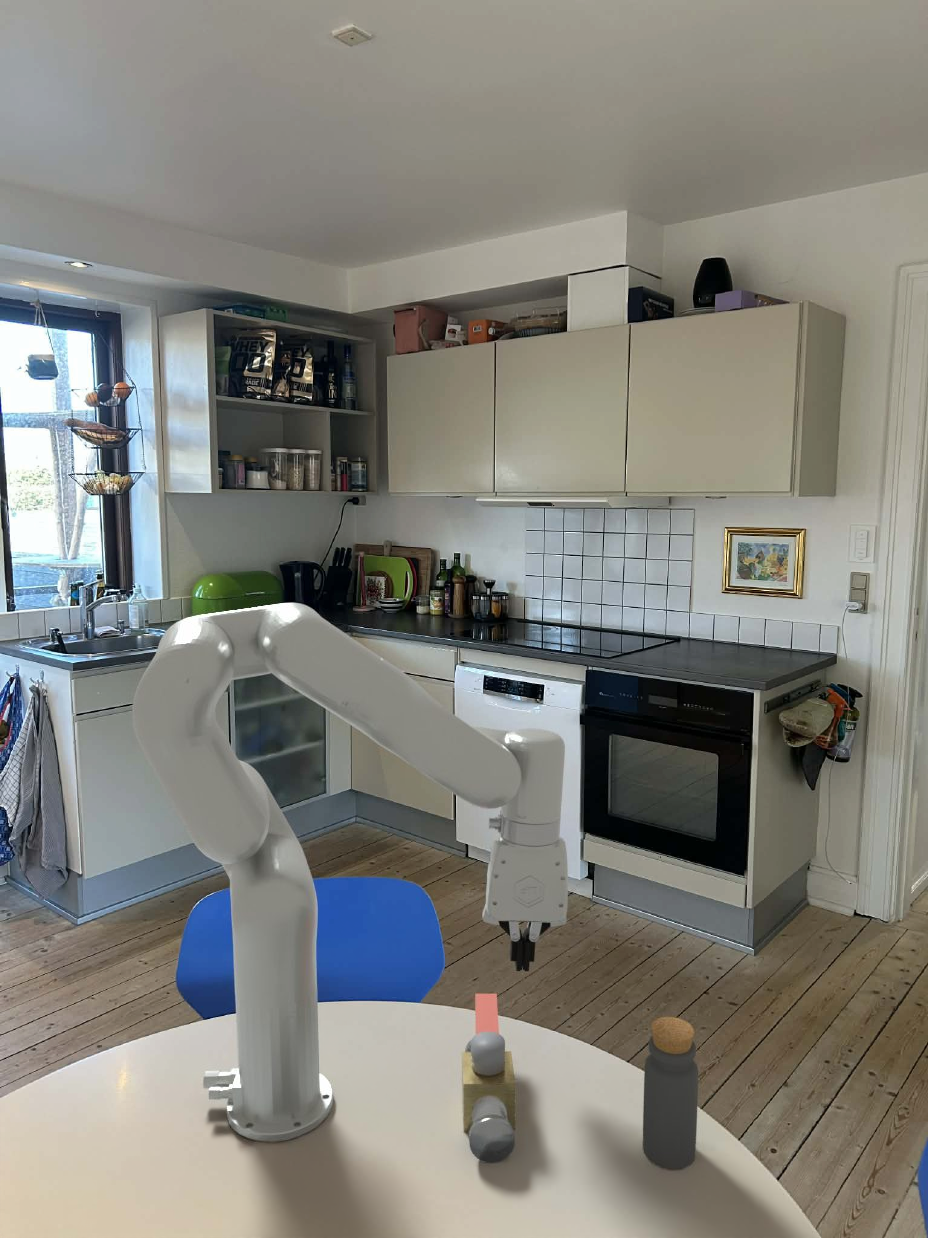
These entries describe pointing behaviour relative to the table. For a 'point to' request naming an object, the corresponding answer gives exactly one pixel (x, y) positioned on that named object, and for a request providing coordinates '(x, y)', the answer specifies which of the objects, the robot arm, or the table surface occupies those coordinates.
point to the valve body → (489, 1109)
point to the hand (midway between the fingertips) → (521, 966)
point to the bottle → (670, 1095)
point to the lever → (487, 1037)
